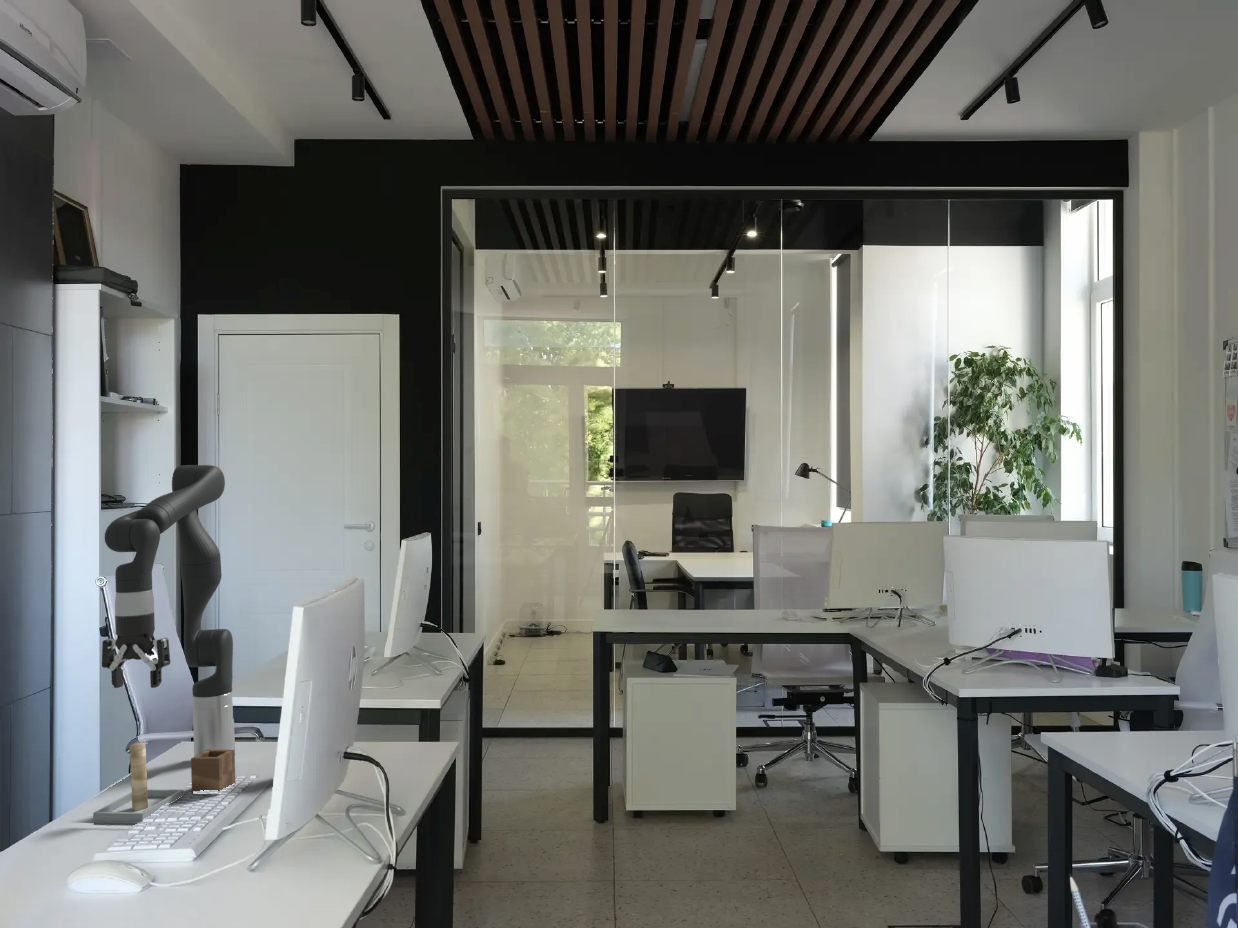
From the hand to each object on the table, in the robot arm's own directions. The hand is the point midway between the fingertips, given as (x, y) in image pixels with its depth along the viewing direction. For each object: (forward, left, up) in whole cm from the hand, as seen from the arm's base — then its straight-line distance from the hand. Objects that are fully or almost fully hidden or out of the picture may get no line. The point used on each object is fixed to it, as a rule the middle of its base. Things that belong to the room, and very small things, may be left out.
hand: (136, 687), depth 199 cm
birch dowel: (0, 0, -26) cm, 26 cm away
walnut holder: (-12, +10, -27) cm, 31 cm away
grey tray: (0, 0, -27) cm, 27 cm away
